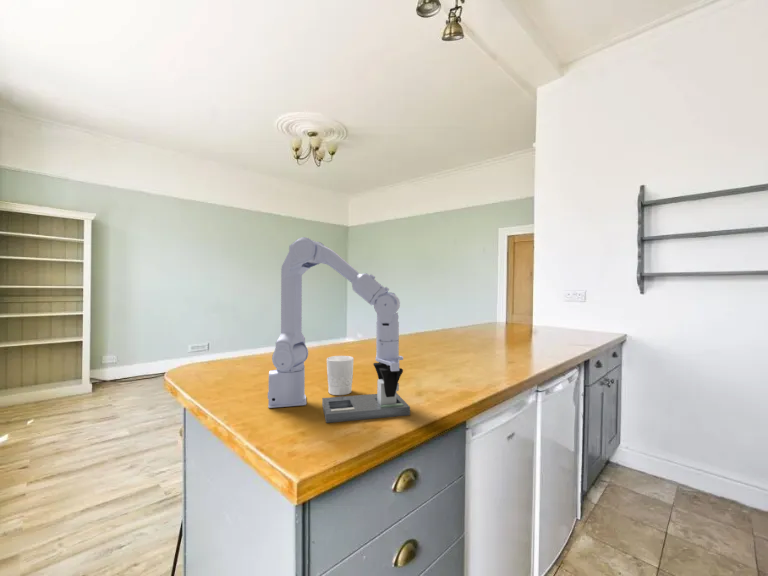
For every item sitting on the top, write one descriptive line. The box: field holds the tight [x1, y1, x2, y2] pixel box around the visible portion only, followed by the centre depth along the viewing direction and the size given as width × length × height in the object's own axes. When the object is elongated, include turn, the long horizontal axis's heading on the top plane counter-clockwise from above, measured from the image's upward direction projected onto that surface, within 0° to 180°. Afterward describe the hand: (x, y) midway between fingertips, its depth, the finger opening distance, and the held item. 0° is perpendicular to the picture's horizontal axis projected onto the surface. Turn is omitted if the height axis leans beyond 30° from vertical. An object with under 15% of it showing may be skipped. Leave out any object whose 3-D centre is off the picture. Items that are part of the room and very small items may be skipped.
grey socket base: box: [321, 393, 411, 424], centre depth 87 cm, size 20×12×2 cm, turn 104°
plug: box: [376, 378, 400, 405], centre depth 89 cm, size 5×4×7 cm
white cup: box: [326, 355, 354, 396], centre depth 103 cm, size 8×8×10 cm
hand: (387, 393), depth 89 cm, fingers open, 5 cm apart
